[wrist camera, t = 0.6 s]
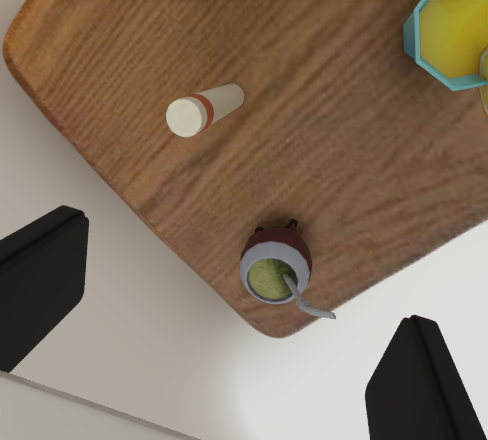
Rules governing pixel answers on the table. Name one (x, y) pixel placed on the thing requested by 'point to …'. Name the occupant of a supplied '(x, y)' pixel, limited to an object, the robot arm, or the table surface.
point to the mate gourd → (278, 267)
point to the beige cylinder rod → (203, 109)
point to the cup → (451, 42)
